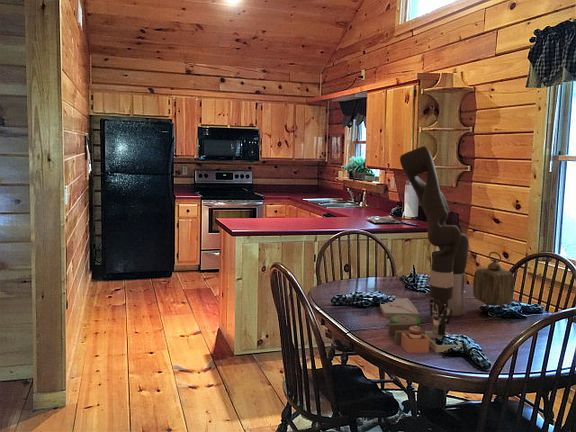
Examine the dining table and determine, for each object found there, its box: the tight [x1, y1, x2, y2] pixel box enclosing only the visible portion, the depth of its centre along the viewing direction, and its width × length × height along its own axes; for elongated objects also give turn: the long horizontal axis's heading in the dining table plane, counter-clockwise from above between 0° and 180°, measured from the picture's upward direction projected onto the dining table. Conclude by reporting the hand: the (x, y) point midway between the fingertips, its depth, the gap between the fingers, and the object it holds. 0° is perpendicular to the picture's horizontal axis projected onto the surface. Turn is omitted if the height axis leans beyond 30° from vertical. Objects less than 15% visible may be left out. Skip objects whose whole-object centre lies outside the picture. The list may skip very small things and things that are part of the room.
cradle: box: [387, 323, 426, 346], centre depth 188 cm, size 10×11×5 cm
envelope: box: [379, 297, 420, 319], centre depth 225 cm, size 24×2×14 cm
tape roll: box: [389, 315, 421, 328], centre depth 204 cm, size 11×11×3 cm
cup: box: [400, 332, 430, 354], centre depth 178 cm, size 7×7×5 cm
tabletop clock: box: [472, 251, 515, 310], centre depth 222 cm, size 14×9×25 cm, turn 20°
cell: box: [432, 313, 445, 338], centre depth 183 cm, size 4×4×8 cm
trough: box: [425, 330, 463, 353], centre depth 183 cm, size 9×14×3 cm, turn 8°
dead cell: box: [409, 326, 423, 339], centre depth 178 cm, size 4×4×8 cm
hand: (438, 332), depth 184 cm, fingers closed on cell, 4 cm apart
